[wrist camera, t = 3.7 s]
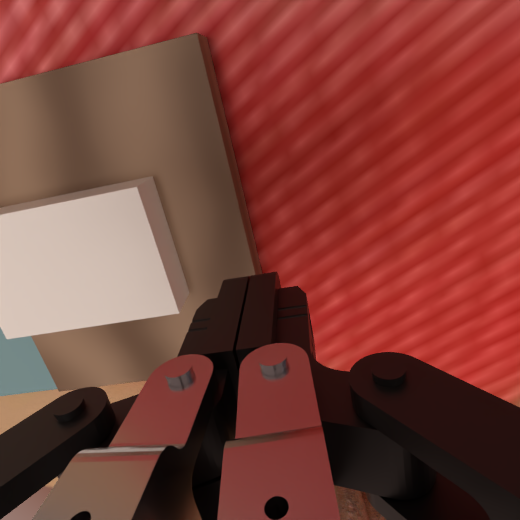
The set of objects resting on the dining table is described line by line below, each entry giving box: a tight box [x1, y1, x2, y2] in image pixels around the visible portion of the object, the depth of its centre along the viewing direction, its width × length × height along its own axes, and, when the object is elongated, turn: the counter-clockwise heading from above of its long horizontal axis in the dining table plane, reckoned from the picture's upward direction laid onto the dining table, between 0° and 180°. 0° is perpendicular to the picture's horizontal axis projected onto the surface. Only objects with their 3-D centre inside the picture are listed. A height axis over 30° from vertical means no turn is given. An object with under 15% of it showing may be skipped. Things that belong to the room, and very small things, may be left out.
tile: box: [0, 176, 189, 339], centre depth 19 cm, size 9×6×2 cm, turn 102°
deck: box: [0, 33, 262, 391], centre depth 21 cm, size 13×16×2 cm
